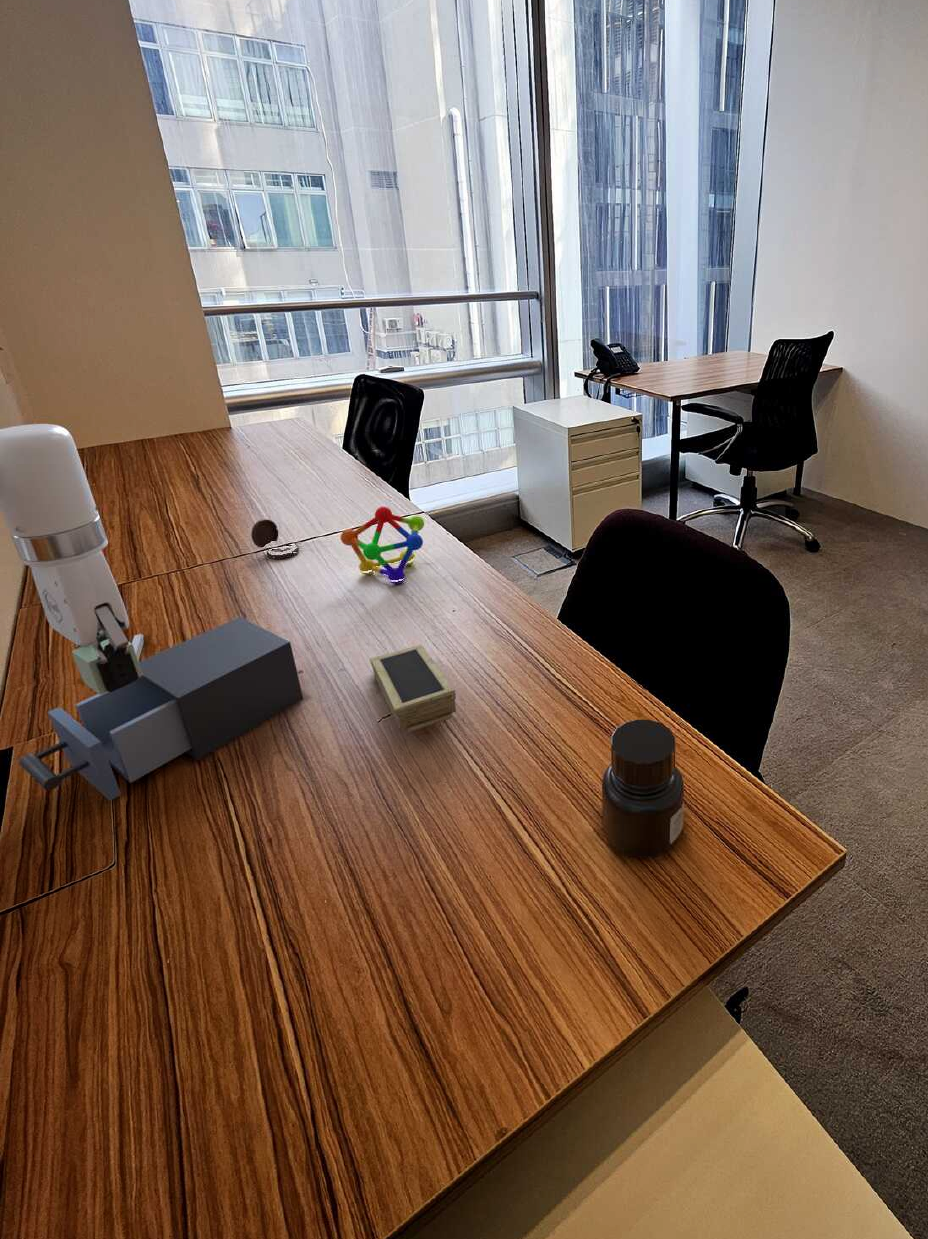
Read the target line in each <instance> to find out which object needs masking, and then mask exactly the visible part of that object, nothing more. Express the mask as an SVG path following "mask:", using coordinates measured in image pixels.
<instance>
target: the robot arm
mask: <svg viewBox="0 0 928 1239" xmlns="http://www.w3.org/2000/svg"><path fill="white" fill-rule="evenodd" d="M0 511H1V513H2V517H3V518H4V521H5V523H6V526H7V529H8V531H9V533H10V536H11V539H12V541H13V544H14V546H15V549H16V551H17V554H18V556H19V558H20V561H21V564H23V565H24V566H29V567H30V571H31V574H32V578H33V581H34V584H35V587H36V590H37V592H38V596H39V599H40V603H41V605H42V608H43V611H44V614H45V618H46V620H47V622H48V624H49V626H50V627H51V628H52V629H53V630H55V631H56V632H57V633H58V634H60V635H61V636H62V637H64V638H66V639H67V640H69V641H70V642H71V643H73V644H74V646H75V647H76V648H80V647H86V646H88V645H89V644H90V643H91V645H92V647H93V649H94V651H95V653H96V655H97V658H98V660H99V662H98V663H96V665H97V667H98V670H99V673H100V675H101V678H102V681H103V683H104V686H105V689H106V690H107V691H108V692H113V691H115V690H118V689H120V688H122V687H124V686H126V685H128V684H130V683H133V682H135V681H137V680H138V678H139V676H138V674H137V671H136V668H135V665H134V662H133V659H132V656H131V654H130V650H129V648H128V644H129V642H130V641H129V639H128V638H127V636H126V634H125V633H124V632H125V631H127V630H128V628H129V626H130V620H129V616H128V613H127V610H126V607H125V604H124V601H123V598H122V596H121V593H120V591H119V590H120V589H119V588H118V585H117V583H116V580H115V578H114V576H113V573H112V570H111V569H110V568H111V567H110V565H109V563H108V562H107V559H106V558H105V555H104V553H103V551H102V550H103V549H105V548H106V547H107V546H108V544H109V539H108V537H107V534H106V531H105V528H104V525H103V522H102V519H101V516H100V515H99V514H100V513H99V511H98V507H97V505H96V501H95V499H94V496H93V493H92V491H91V487H90V484H89V481H88V478H87V475H86V472H85V470H84V467H83V463H82V460H81V458H80V455H79V452H78V449H77V445H76V443H75V440H74V437H73V436H72V434H71V432H69V430H67V429H66V428H65V427H63V426H61V425H58V424H52V423H32V424H23V425H16V426H15V425H14V426H9V427H5V428H0ZM107 639H108V640H109V644H108V645H106V646H105V648H104V650H103V648H102V646H101V644H100V642H102V641H105V640H107Z"/></svg>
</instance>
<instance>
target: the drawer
mask: <svg viewBox="0 0 928 1239" xmlns="http://www.w3.org/2000/svg"><path fill="white" fill-rule="evenodd" d="M75 707H76V710H77V713H78V715H79V717H80V720H81V722H82V725H81V724H80V723H79V722H78V721H77V720H75V719H74V718H73V717H72V716H71V715H69V714H68V713H67V712H66V711H65V710H64V709H62V707H60V706H57V707H55V708H53V709H52V710H49V711H47V715H48V717H49V720H50V722H51V724H52V727H53V729H54V732H55V734H56V736H57V739H58V741H59V742H58V743H56V744H54V745H52V746H50V747H48V748H46V749H44V750H41V751H39V752H37V753H33V752H31V753H26V754H24V755H22V756H21V758H20V759H19V765H20V766H21V767H22V768H23V769H24V771H26V772H27V773H28V774H29V775H30V776H31V777H32V778H33V779H34V780H35V781H36V782H37V783H38V784H39V785H40V786H41V788H43V789H44V790H45V791H53V790H55V789H56V788H58V787H59V786H60V784H61V782H62V781H64V780H65V779H67V778H69V777H71V776H72V775H74V774H76V773H79V775H81V776H82V777H83V778H84V779H85V780H86V781H87V782H88V783H89V784H90V785H91V786H93V787H94V789H96V790H97V791H98V792H99V793H100V794H101V795H102V796H103V797H104V798H106V799H107V800H108V801H109V802H111V801H113V800H114V799H116V798H118V797H119V796H121V795H122V793H121V790H120V788H119V785H118V783H117V782H118V781H117V780H116V777H115V774H114V771H113V770H115V771H116V772H117V773H119V775H121V776H122V778H124V779H125V780H126V781H128V782H129V783H130V784H131V783H133V782H135V781H137V780H138V779H141V778H142V777H144V776H146V775H147V774H149V773H150V772H152V771H154V770H156V769H157V768H160V767H161V766H164V765H165V764H166V763H168V762H171V761H172V760H174V759H175V758H178V757H179V756H181V755H182V754H184V753H187V752H186V751H188V750H189V749H191V746H190V743H189V739H188V736H187V733H186V730H185V727H184V724H183V721H182V718H181V715H180V711H179V708H178V705H177V702H176V701H175V700H173V699H172V698H170V697H169V696H168V695H166V694H165V693H163V692H162V691H160V690H159V689H157V688H156V687H154V686H153V685H151V684H150V683H148V682H147V681H145V680H144V679H142V678H141V677H139V678H138V680H137V681H135V682H133V683H130V684H128V685H126V686H124V687H122V688H120V689H118V690H115V691H113V692H106V693H104V694H102V695H100V694H98V693H96V694H94V695H92V696H90V697H88V698H86V699H84V700H81V701H80V702H77V703H75ZM60 750H62V751H63V754H64V756H65V758H66V761H67V763H68V764H69V765H70V766H71V767H69V768H67V769H65V770H63V771H61V772H60V773H58V774H56V773H55V772H54V771H53V770H52V769H51V768H50V767H48V765H47V764H46V763H45V762H44V761H42V760H43V759H44V758H47V757H48V756H50V755H52V754H54V753H56V752H59V751H60ZM112 768H113V769H112Z"/></svg>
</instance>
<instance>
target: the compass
mask: <svg viewBox="0 0 928 1239" xmlns="http://www.w3.org/2000/svg"><path fill="white" fill-rule="evenodd" d="M278 539H279V529H278V526H277V524H276V523H275V522H274V521H273V520H271V519H259V520H258V521H256V522H255V523H254V525H253V526H252V528H251V540H252V542H253V544H254V545H255V546H256V547H257V548H260V547H261V548H260V549H263V548H262V547H264V546H265V545H266V544H268V543H270V542H271V541H276V542H278ZM291 543H292V544H293V542H291ZM300 544H302V542H301V541H299V542H298V543H297V542H296V543H295V545H296V546H298V545H300ZM283 546H292V545H283ZM290 549H291V548H286V549H284V550H281V549H279V548H278V549H272V550H271V551H274V552H283V551H287V550H290ZM268 551H269V549H268V550H267V551H266V557H268V558H269V557H270V558H269V559H272V560H282V559H287V558H290V557H293V556H296V554H297V553H299V552H300V547H299V546H298V548H296V549H295V550H294V551H292V553H287V554H283V555H271V554H269V553H268ZM293 552H297V553H293ZM273 557H274V558H273Z"/></svg>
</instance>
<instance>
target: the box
mask: <svg viewBox="0 0 928 1239" xmlns="http://www.w3.org/2000/svg"><path fill="white" fill-rule="evenodd" d="M369 661H370V665H371V667H372V672H373V675H374V679H375V681H376V683H377V685H378V687H379V689H380V691H381V693H382V696H383V697H384V700H385V702H386V703H387V706H388V708H389V710H390V712H391V714H392V716H393V719H394V720H395V723H396V725H397V726H398V728H399V730H405V731H406V734H411V733H414V732H417V731H419V730H422V729H425V728H428V727H431V726H433V725H436V724H440V723H442V722H446V721H448V720H451V719H453V715H452V714H453V713H455V712H457V709H456V708H457V706H456V699H457V694H456V689H454V687H453V685H452V684H451V683H450V682H449V680H448V679H447V677H446V676H445V675H444V674H443V672H442V671H441V669H440V668H439V667H438V666H437V664H436V662H435V661H434V660H433V658H432V657H431V655H430V654H429V653H428V652H427V650H426V649H425V647H424V646H423V644H419V645H414V646H410V647H407V648H404V649H401V650H397V651H393V652H390V653H385V654H381V655H378V656H375V657H371V658H370V659H369Z"/></svg>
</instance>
